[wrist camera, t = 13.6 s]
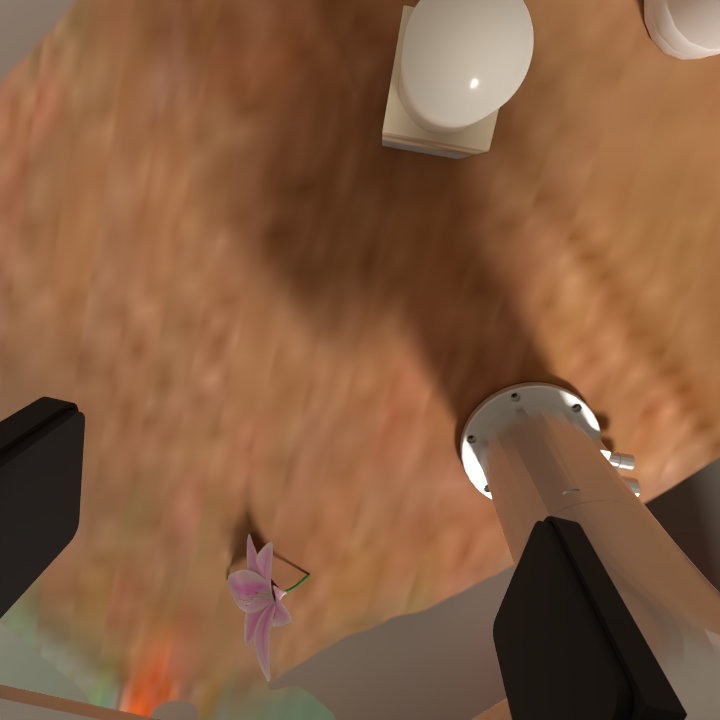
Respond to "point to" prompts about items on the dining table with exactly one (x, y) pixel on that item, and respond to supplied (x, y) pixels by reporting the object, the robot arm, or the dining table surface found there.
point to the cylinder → (463, 60)
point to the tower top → (409, 132)
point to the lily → (259, 600)
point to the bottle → (684, 27)
